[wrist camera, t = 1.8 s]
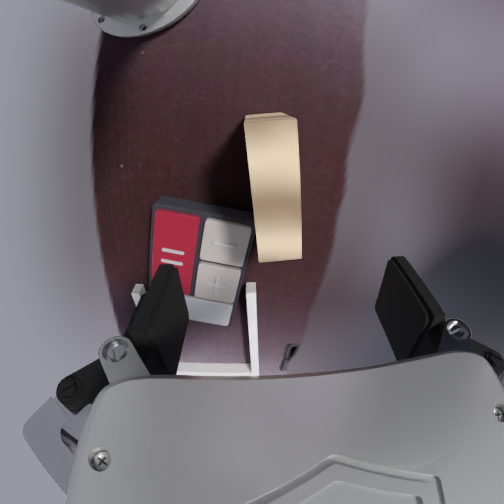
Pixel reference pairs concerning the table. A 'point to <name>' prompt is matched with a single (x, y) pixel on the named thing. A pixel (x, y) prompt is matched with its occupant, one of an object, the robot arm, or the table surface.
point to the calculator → (203, 253)
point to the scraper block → (275, 184)
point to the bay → (223, 368)
